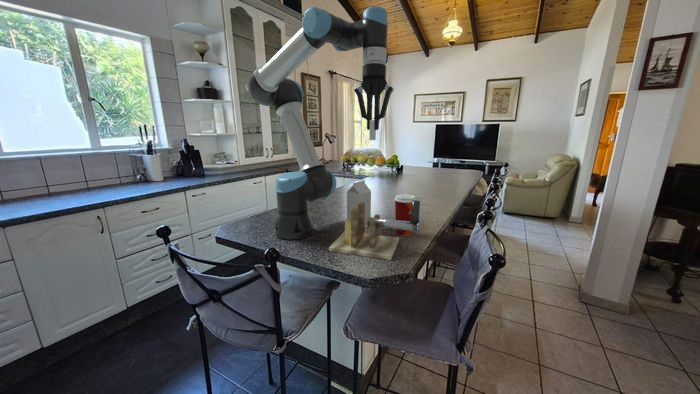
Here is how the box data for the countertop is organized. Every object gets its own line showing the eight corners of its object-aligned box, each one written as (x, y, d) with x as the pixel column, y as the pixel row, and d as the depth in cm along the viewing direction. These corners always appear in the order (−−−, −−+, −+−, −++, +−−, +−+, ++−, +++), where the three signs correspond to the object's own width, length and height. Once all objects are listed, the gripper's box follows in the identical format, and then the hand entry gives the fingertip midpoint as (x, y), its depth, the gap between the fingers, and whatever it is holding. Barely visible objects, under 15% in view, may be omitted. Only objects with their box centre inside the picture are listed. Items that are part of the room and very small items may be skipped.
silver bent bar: (366, 229, 92) (367, 198, 90) (370, 225, 96) (370, 195, 94) (418, 235, 87) (421, 203, 84) (420, 231, 91) (422, 199, 88)
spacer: (345, 244, 94) (344, 222, 92) (352, 236, 102) (352, 215, 100) (352, 245, 93) (352, 223, 91) (358, 236, 101) (359, 216, 99)
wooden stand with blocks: (328, 250, 92) (328, 210, 89) (345, 233, 107) (344, 199, 103) (390, 260, 86) (392, 217, 82) (399, 240, 100) (400, 203, 97)
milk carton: (370, 226, 115) (371, 181, 111) (359, 230, 110) (359, 184, 106) (358, 222, 120) (358, 179, 115) (346, 226, 115) (346, 181, 110)
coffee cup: (414, 238, 103) (416, 199, 99) (392, 236, 104) (393, 198, 101) (414, 230, 111) (416, 194, 107) (393, 228, 112) (394, 193, 109)
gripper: (351, 63, 86) (350, 140, 92) (392, 60, 82) (389, 140, 88) (358, 68, 93) (357, 139, 99) (396, 65, 89) (393, 139, 95)
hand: (372, 139), depth 93 cm, fingers closed
